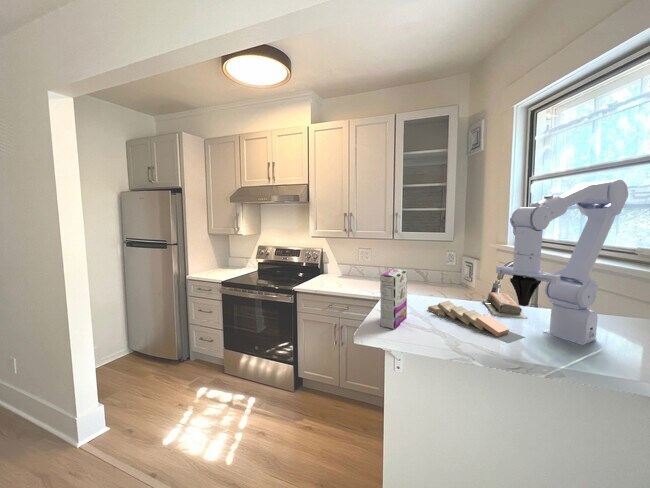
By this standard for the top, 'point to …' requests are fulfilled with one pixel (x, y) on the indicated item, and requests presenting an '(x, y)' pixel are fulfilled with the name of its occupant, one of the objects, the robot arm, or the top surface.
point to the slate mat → (505, 338)
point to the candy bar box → (393, 298)
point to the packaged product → (503, 306)
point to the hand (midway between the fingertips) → (523, 305)
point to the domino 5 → (492, 325)
